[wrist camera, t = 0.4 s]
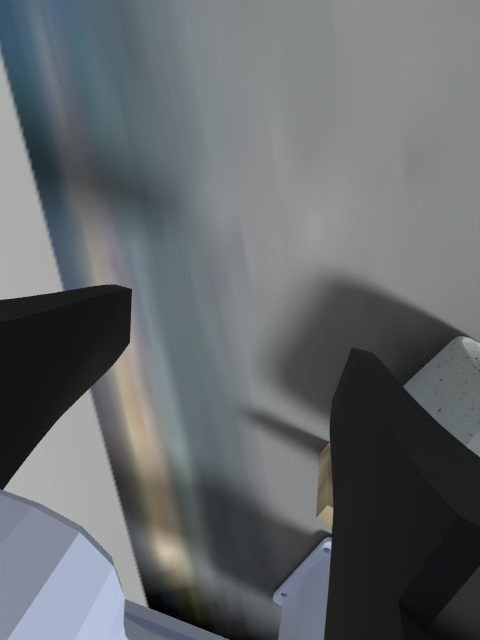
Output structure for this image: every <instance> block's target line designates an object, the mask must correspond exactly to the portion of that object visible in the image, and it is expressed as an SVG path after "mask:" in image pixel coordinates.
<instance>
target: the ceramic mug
mask: <svg viewBox="0 0 480 640" xmlns="http://www.w3.org/2000/svg"><path fill="white" fill-rule="evenodd" d="M403 387H404V388H405V389H406V390H407V392H408V393H409V394H410V395H411V396H412V397H413V398H414V399H415V400H416V401H417V402H418V403H419V404H420V405H421V406H422V407H423V408H424V409H425V410H426V411H427V412H428V413H429V414H430V415H431V416H432V417H433V418H434V419H435V420H436V421H437V422H438V423H439V424H441V425H442V426H443V427H444V428H445V429H446V430H447V431H449V432H450V433H451V434H452V435H453V436H454V437H456V438H457V439H458V440H459V441H460V442H462V443H463V444H464V445H465V446H466V447H468V448H469V449H470V450H471V451H473V452H474V453H475V454H477V455H478V456H479V457H480V343H479V342H477V341H475V340H473V339H471V338H468V337H464V336H459V337H456V338H455V339H453V340H452V341H451V342H450V343H449V344H448V345H447V346H445V347H444V348H443V349H442V350H441V351H440V352H439V353H438V354H437V355H436V356H435V357H434V358H433V359H432V360H431V361H429V362H428V363H427V364H426V365H425V366H424V367H423V368H422V369H421V370H420V371H419V372H417V373H416V374H415V375H414V376H413V377H412V378H411V379H410V380H409V381H408V382H407V383H406V384H405V385H404V386H403Z"/></svg>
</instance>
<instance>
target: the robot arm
mask: <svg viewBox="0 0 480 640" xmlns="http://www.w3.org/2000/svg"><path fill="white" fill-rule="evenodd" d="M131 299H132V289H130V288H126V287H122V286H118V285H100V286H93V287H86V288H80V289H74V290H68V291H62V292H57V293H50V294H43V295H37V296H30V297H22V298H15V299H5V300H0V640H228V639H226V638H223V637H221V636H218V635H216V634H213V633H211V632H208V631H205V630H203V629H200V628H198V627H195V626H193V625H190V624H188V623H185V622H182V621H180V620H177V619H175V618H172V617H170V616H167V615H165V614H162V613H160V612H157V611H154V610H152V609H149V608H147V607H144V606H142V605H139V604H136V603H134V602H131V601H129V600H126V599H125V597H124V593H123V590H122V586H121V582H120V580H119V577H118V574H117V571H116V568H115V565H114V562H113V560H112V557H111V556H110V555H109V554H108V553H107V552H106V550H104V549H103V547H102V546H101V545H100V544H99V543H98V542H97V541H95V539H94V538H93V537H92V536H91V535H90V534H89V533H88V532H87V531H86V530H85V529H84V528H83V527H82V526H80V525H78V524H77V523H75V522H73V521H71V520H69V519H67V518H66V517H64V516H62V515H60V514H58V513H57V512H55V511H53V510H51V509H49V508H47V507H46V506H44V505H42V504H39V503H37V502H34V501H31V500H28V499H26V498H23V497H20V496H17V495H15V494H12V493H9V492H7V491H4V490H3V489H4V488H5V486H6V485H7V484H8V482H9V481H10V479H11V478H12V477H13V475H14V474H15V473H16V471H17V470H18V469H19V467H20V466H21V465H22V464H23V462H24V461H25V460H26V458H27V457H28V456H29V455H30V453H31V452H32V451H33V449H34V448H35V447H36V446H37V444H38V443H39V442H40V441H41V440H42V438H43V437H44V436H45V435H46V433H47V432H48V431H49V430H50V429H51V427H52V426H53V425H54V424H55V423H56V421H57V420H58V419H59V418H60V417H61V416H62V415H63V414H64V413H65V412H66V411H67V410H68V409H69V407H71V406H72V405H73V404H74V403H75V402H76V401H77V400H78V399H79V398H80V397H81V396H82V395H83V394H84V393H85V392H86V391H87V390H88V389H89V388H90V387H91V386H92V385H93V384H94V383H95V382H96V381H97V380H98V379H99V378H101V377H102V376H103V375H104V374H105V373H106V372H107V371H108V370H109V369H110V367H111V366H112V365H113V364H114V363H115V362H116V361H117V359H118V358H119V357H120V355H121V354H122V353H123V351H124V350H125V349H126V347H127V346H128V344H129V343H130V325H131ZM330 448H331V467H332V486H333V524H332V538H331V537H327V538H325V539H324V540H323V541H322V542H321V543H320V544H319V545H318V546H317V547H316V548H315V550H314V551H313V552H312V553H311V554H310V555H309V556H308V557H307V558H306V559H305V560H304V561H303V562H302V564H301V565H300V566H299V567H298V568H297V569H296V570H295V571H294V572H293V573H292V574H291V575H290V577H289V578H288V579H287V580H286V581H285V582H284V583H283V584H282V585H281V586H280V587H279V588H278V589H277V591H276V592H275V593H274V594H273V601H274V602H275V603H277V604H278V605H280V606H282V614H281V622H280V630H279V638H278V640H480V457H479V456H478V455H477V454H475V453H474V452H473V451H471V450H470V449H469V448H468V447H466V446H465V445H464V444H463V443H462V442H460V441H459V440H458V439H457V438H456V437H454V436H453V435H452V434H451V433H450V432H449V431H447V430H446V429H445V428H444V427H443V426H442V425H441V424H439V423H438V422H437V421H436V420H435V419H434V418H433V417H432V416H431V415H430V414H429V413H428V412H427V411H426V410H425V409H424V408H423V407H422V406H421V405H420V404H419V403H418V402H417V401H416V400H415V399H414V398H413V397H412V396H411V395H410V394H409V393H408V392H407V390H406V389H405V388H404V387H403V386H402V385H401V384H400V383H399V382H398V380H397V379H396V378H395V377H394V376H393V375H392V374H391V372H390V371H389V370H388V369H387V368H386V367H385V365H384V364H383V363H382V362H381V361H380V360H379V359H378V358H377V357H376V356H375V355H374V354H373V353H371V352H367V351H363V350H360V349H356V348H352V349H351V352H350V354H349V357H348V360H347V362H346V365H345V368H344V370H343V373H342V376H341V378H340V381H339V384H338V386H337V389H336V392H335V394H334V397H333V400H332V408H331V418H330Z"/></svg>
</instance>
